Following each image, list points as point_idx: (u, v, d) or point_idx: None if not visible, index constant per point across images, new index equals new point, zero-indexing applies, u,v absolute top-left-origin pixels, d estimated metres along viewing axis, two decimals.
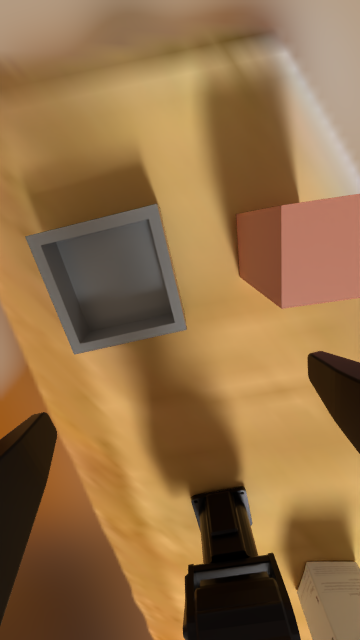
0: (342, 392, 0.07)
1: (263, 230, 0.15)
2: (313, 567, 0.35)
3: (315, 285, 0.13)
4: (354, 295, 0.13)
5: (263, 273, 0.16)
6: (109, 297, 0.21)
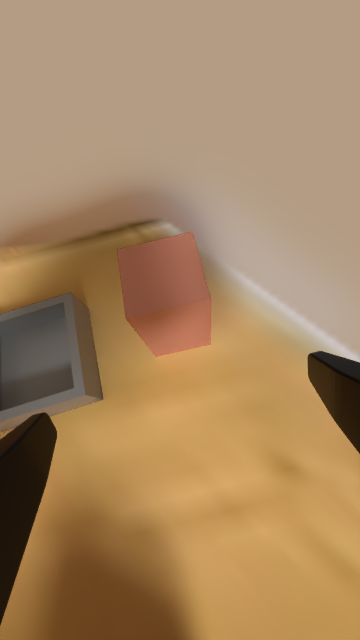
0: (342, 392, 0.07)
1: None
2: None
3: (152, 297, 0.15)
4: (189, 301, 0.15)
5: None
6: (30, 381, 0.22)
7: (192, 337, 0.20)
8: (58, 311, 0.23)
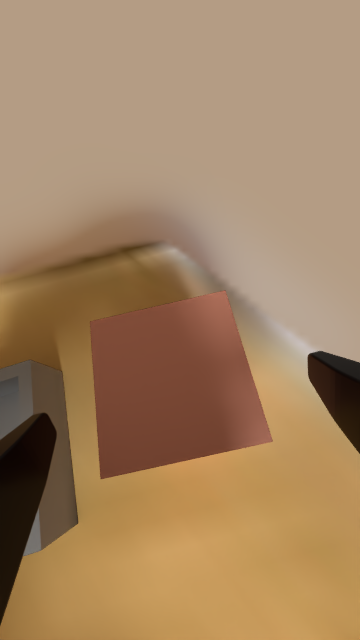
0: (342, 392, 0.07)
1: None
2: None
3: (153, 429, 0.08)
4: (229, 444, 0.07)
5: None
6: None
7: None
8: (13, 384, 0.16)
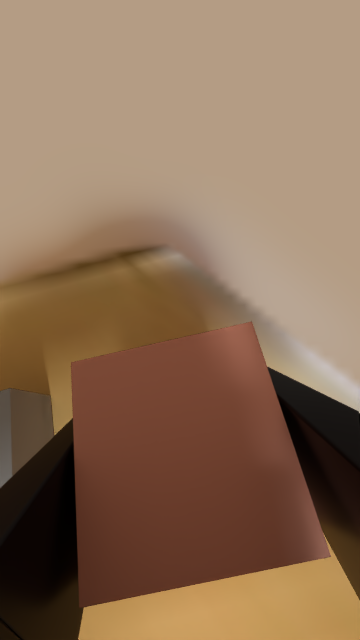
0: None
1: None
2: None
3: (156, 529, 0.05)
4: (266, 558, 0.05)
5: None
6: None
7: None
8: None
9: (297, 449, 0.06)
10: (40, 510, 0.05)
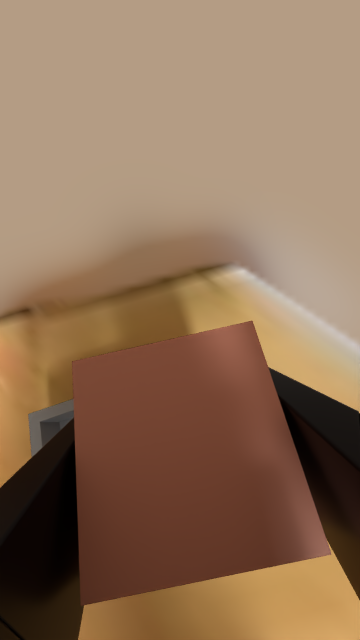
0: None
1: None
2: None
3: (157, 527, 0.05)
4: (266, 556, 0.05)
5: None
6: None
7: None
8: None
9: (297, 449, 0.06)
10: (40, 510, 0.05)
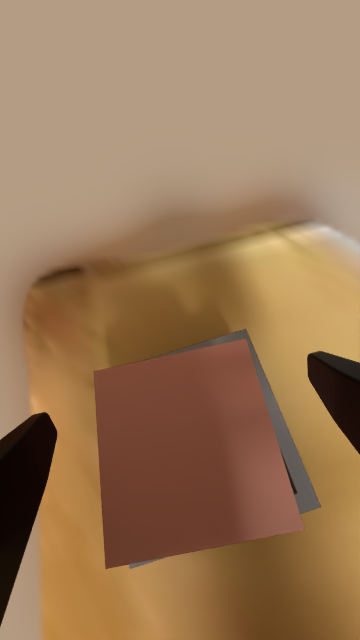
0: (342, 392, 0.07)
1: None
2: None
3: (166, 508, 0.07)
4: (253, 531, 0.06)
5: None
6: None
7: None
8: None
9: None
10: None
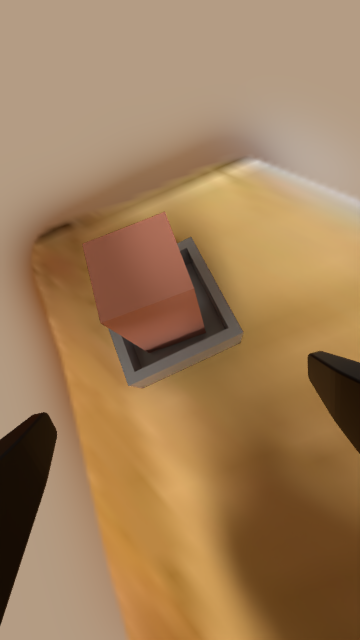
0: (342, 392, 0.07)
1: None
2: None
3: (127, 294, 0.13)
4: (170, 294, 0.13)
5: None
6: None
7: (183, 329, 0.19)
8: None
9: None
10: None
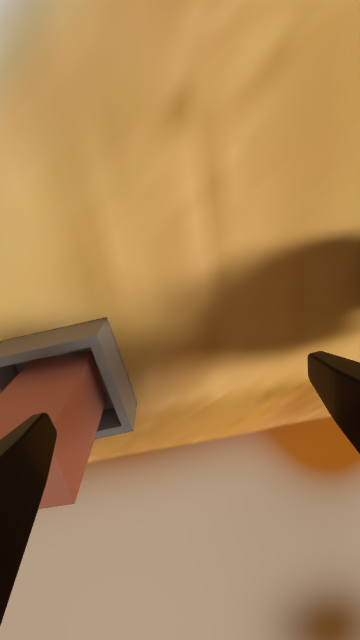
0: (342, 392, 0.07)
1: None
2: None
3: (47, 485, 0.14)
4: None
5: None
6: None
7: (87, 388, 0.19)
8: (5, 373, 0.20)
9: None
10: None
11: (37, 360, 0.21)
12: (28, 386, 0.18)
